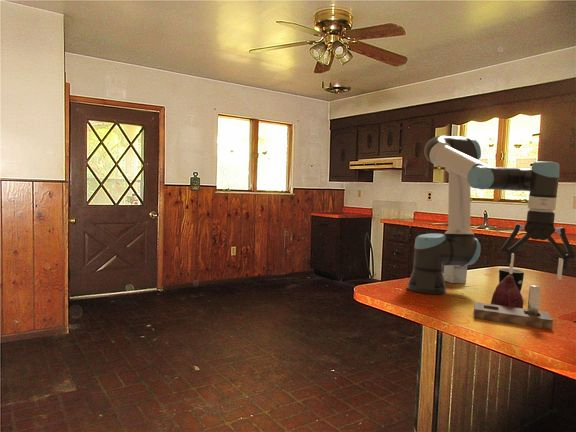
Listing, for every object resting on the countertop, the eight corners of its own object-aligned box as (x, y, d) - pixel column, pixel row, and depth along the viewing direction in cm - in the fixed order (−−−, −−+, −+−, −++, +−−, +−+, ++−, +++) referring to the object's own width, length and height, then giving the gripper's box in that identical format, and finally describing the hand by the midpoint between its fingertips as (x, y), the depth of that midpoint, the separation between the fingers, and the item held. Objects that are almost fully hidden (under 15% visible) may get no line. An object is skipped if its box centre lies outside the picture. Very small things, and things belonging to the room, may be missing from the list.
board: (474, 318, 138) (475, 309, 138) (474, 310, 147) (474, 301, 147) (552, 329, 129) (552, 320, 129) (546, 320, 139) (547, 311, 138)
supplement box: (452, 283, 189) (454, 256, 188) (442, 280, 196) (444, 253, 195) (466, 283, 191) (468, 256, 190) (456, 279, 198) (458, 253, 197)
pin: (527, 323, 135) (530, 286, 134) (525, 320, 138) (529, 284, 137) (537, 324, 134) (541, 287, 133) (536, 322, 137) (539, 286, 136)
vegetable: (519, 323, 145) (529, 285, 140) (487, 313, 150) (495, 276, 145) (523, 309, 153) (532, 273, 148) (492, 300, 159) (500, 265, 153)
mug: (519, 298, 167) (521, 273, 166) (494, 294, 172) (496, 269, 172) (525, 293, 176) (527, 269, 175) (502, 289, 182) (504, 266, 181)
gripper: (498, 208, 135) (492, 273, 137) (591, 214, 125) (583, 284, 127) (497, 207, 142) (491, 268, 144) (585, 213, 132) (577, 279, 134)
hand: (534, 276), depth 135 cm, fingers open, 13 cm apart
